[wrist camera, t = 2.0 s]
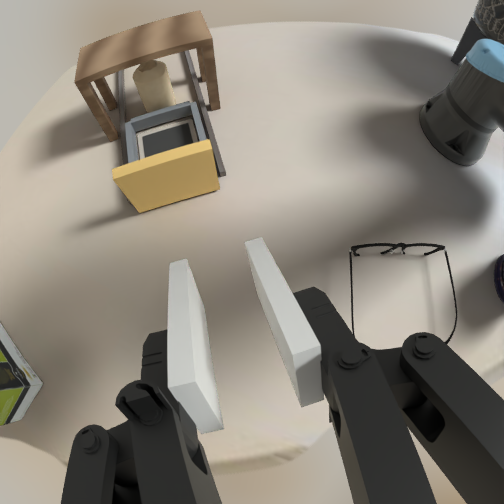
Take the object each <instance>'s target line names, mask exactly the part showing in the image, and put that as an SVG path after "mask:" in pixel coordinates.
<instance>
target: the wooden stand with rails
mask: <svg viewBox="0 0 504 504" xmlns="http://www.w3.org/2000/svg"><path fill="white" fill-rule="evenodd" d="M195 48H196V49H197V56H198V62H199V68H200V74H201V79H202V82H205V81H206V83H207V90H208V96H209V103H210V107H211V110H212V111H213V110H217V109H220V101H219V92H218V84H217V75H216V67H215V58H214V49H213V40H212V36H211V34H210V32H209V29H208V27H207V25H206V22H205V20H204V18H203V16H202V13H201V11H195V12H190V13H186V14H182V15H178V16H173V17H169V18H166V19H162V20H158V21H155V22H151V23H148V24H145V25H141V26H138V27H135V28H132V29H129V30H126V31H123V32H120V33H117V34H114V35H112V36H109V37H106V38H104V39H101V40H99V41H96V42H94V43H92V44H89V45H87V46H85V47H82V48H80V53H79V58H78V64H77V69H76V75H75V84H76V86H77V87H78V89H79V91H80V93H81V94H82V96H83V98H84V99H85V101H86V103H87V104H88V106H89V108H90V109H91V111H92V113H93V114H94V116H95V118H96V119H97V121H98V122H99V124H100V126H101V127H102V129H103V131H104V132H105V134H106V135H107V137H108V139H109V140H110V142H112V141H115V140H117V139H118V132H117V130H116V128H115V126H114V125H113V123H112V121H111V119H110V117H109V116H108V114H107V112H106V110H105V109H104V107H103V105H102V103H101V101H100V99H99V98H98V96H97V94H96V92H95V90H94V88H93V86H92V85H91V83H90V82H92V81H94V82H95V84H96V86H97V88H98V90H99V92H100V94H101V96H102V97H103V99H104V101H105V103H106V105H107V107H108V109H109V110H110V111H111V110H113V109H116V108H117V102H116V100H115V98H114V96H113V94H112V92H111V90H110V88H109V86H108V84H107V82H106V80H105V78H104V77H105V76H107V75H110V74H112V73H115V72H118V71H119V110H120V129H121V144H122V156H123V165H125V164H128V153H127V143H126V130H125V123H126V111H125V91H124V69H126V68H129V67H132V66H135V65H138V64H141V63H144V62H147V61H150V60H154V59H157V58H160V57H164V56H168V55H171V54H175V53H179V52H183V51H185V55H186V58H187V62H188V66H189V69H190V73H191V76H192V80H193V83H194V87H195V90H196V94H197V97H198V101H199V104H200V107H201V111H202V114H203V118H204V121H205V125H206V128H207V132H208V135H209V139H210V142H211V145H212V149H213V152H214V156H215V159H216V163H217V166H218V169H219V173H220V176H221V177H222V176H225V175H226V172H225V168H224V165H223V162H222V158H221V155H220V152H219V149H218V145H217V142H216V139H215V135H214V132H213V129H212V126H211V122H210V119H209V116H208V112H207V109H206V106H205V103H204V99H203V96H202V93H201V89H200V86H199V83H198V79H197V76H196V73H195V70H194V66H193V63H192V60H191V56H190V53H189V50H191V49H195ZM127 201H128V202H129V203H130V204H131V202H130V200H129V199H128V198H127Z"/></svg>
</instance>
